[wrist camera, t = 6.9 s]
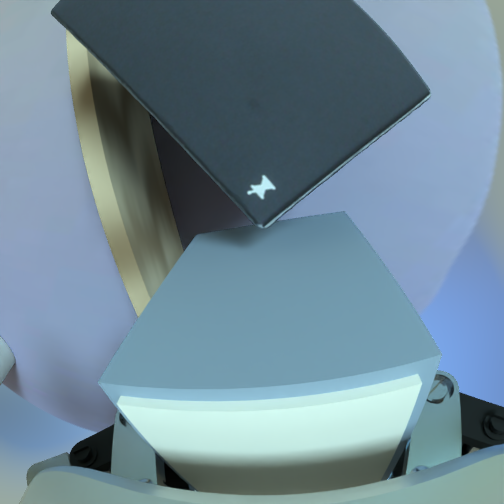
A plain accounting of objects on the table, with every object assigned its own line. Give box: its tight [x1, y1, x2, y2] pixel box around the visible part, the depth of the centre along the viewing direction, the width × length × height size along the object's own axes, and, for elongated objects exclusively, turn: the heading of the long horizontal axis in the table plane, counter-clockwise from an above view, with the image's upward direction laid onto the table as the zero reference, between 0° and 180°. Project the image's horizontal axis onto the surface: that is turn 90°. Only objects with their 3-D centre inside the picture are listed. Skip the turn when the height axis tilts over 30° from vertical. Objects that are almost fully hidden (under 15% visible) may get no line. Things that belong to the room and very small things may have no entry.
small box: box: [51, 0, 431, 228], centre depth 10 cm, size 11×6×10 cm, turn 42°
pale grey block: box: [98, 211, 442, 495], centre depth 8 cm, size 8×6×8 cm
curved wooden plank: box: [66, 29, 184, 318], centre depth 14 cm, size 32×14×6 cm, turn 11°
